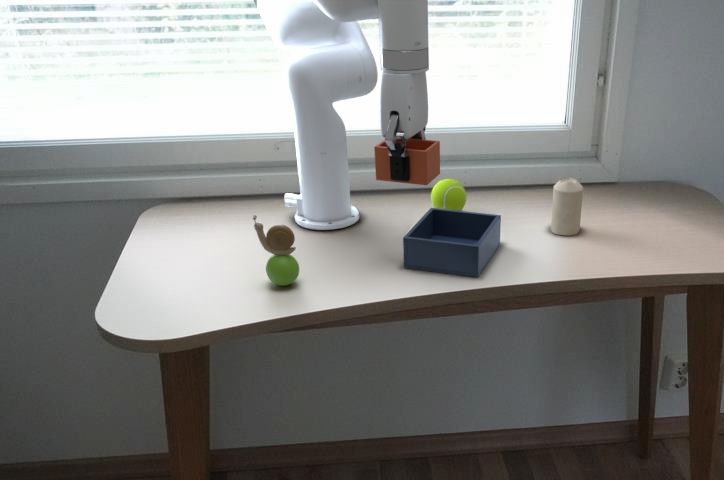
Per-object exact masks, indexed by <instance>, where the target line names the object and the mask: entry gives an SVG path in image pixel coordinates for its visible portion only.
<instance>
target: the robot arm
mask: <svg viewBox="0 0 724 480" xmlns="http://www.w3.org/2000/svg"><path fill="white" fill-rule="evenodd" d="M253 3H254V5H255V7H256V9H257V10H258V13H259V15H260V17H261V19H262V22H263V23H264V26H265V27H266V29H267V31H268V33H269V36H270V37H271V39H272V41H273V42H274V44H275V45H276V46H277V47H278V48H279V49H281V50H284V51H294V52H292V53H291V54H290V55H289V56H287V57H286V59H285V60H284V62H283V66H282V80H283V84H284V88H285V91H286V95H287V99H288V102H289V106H290V111H291V118H292V124H293V132H294V141H295V152H296V163H297V173H298V180H299V181H298V183H299V191H300V192H299V193H300V194H295V193H288V192H287V193H285V194H284V196H283V201H284V206H285V207H287V208H295V209H296V212H295V213H294V221H295V223H297V225H298V226H300V227H302V228H305V229H309V230H314V231H315V230H317V231H331V230H338V229H345V228H347V227H350V226H352V225H354V224H356V223H357V222H358V221H359V219H360V211H359V209H357V207H355V206H353V205H352V204H351V201H352V199H351V187H350V171H349V158H348V157H349V156H348V141H347V131H346V126H345V123H344V120H343V119H342V117H341V116H340V114H339V112H337V110H336V109H335V107H334V105H333V103H336V102H337V103H338V102H340V101H345V100H350V99H356V98H361V97H364V96H367V95H368V94H369V95H370V94H371V92H373V91H374V90H375V88H376V86H377V83H378V77H379V76H378V75H379V74H378V67H377V62H376V59H375V57H374V54H373V51H372V49H371V47H370V45H369V42H368V41H367V39H366V37H365V35H364V33H363V30H362V27H360V23H359V22H358V21H367V20H378V35H379V36H378V39H379V40H378V41H379V57H380V58H379V59H380V71H381V72H382V73H381V83H380V99H379V101H380V104H379V105H380V109H379V110H380V111H379V112H380V116H379V117H380V120H379V121H380V135H381V136H382V138H384V140H385V142H386V144H387V147H388V150H389V156H390V175H391V179H392V180H397V181H409V180H410V164H409V156H407V150H408V141H409V138H411V139H423V140H427V138H426V134H425V133H426V130H427V129H426V128H427V126H428V121H429V97H428V95H429V94H428V81H427V72H428V71H429V70H430V50H429V49H430V48H429V0H253ZM397 134H403V135H397ZM397 141H403V144H402V147H401V145H400V143H397Z"/></svg>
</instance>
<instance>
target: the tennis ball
mask: <svg viewBox="0 0 724 480" xmlns="http://www.w3.org/2000/svg"><path fill="white" fill-rule="evenodd" d="M430 193H431V194H430V200H431V204H432V206H433V208H439V209H448V210H457V211H462V210H463V208H464V207H465V205H466V201H467V191H466V189H465V186H464V185H463V184H462V183H461V182H459V181H458V180H456V179H453V178H443V179H441V180H439V181H438V182H437V183H436V184H435V185H434V186H433V188H432V189H431V192H430Z"/></svg>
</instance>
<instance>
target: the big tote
mask: <svg viewBox="0 0 724 480" xmlns="http://www.w3.org/2000/svg"><path fill="white" fill-rule="evenodd" d="M501 222H502V215H501V214H492V213H483V212H474V211H465V210H460V211H457V210H448V209H439V208H434V207H430V208H429V209H428V210H427V211H426V212H425V213H424V214H423V215H422V216H421V217H420V218H419V220H418V221H416V223H415V224H414V225H413V226H412V227H411V228H410V229H409V231H407V233H406V234H405V235H404V236H403V237H402V250H403V268H404V269H409V270H418V271H424V272H425V271H426V272H431V273H441V274H447V275H448V274H449V275H457V276H463V277H464V276H465V277H471V278H479V276H480V275H481V274H482V272H483V270H484V269H485V267H486V266H487V265H488V263H489V261H490V260H491V259H492V257H493V255H494V254H495V252H496V251H497V250H498V248H499V246H500V245H501V227H502V225H501V224H502V223H501Z"/></svg>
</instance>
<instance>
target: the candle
mask: <svg viewBox="0 0 724 480" xmlns="http://www.w3.org/2000/svg"><path fill="white" fill-rule="evenodd" d="M583 197H584V186H583V185H582V184H581V182H579V181H578V180H577V179H575V177H572V176H570V177H564V178H563V179H562V178H560V179H559V180H558V181H557V182H556V183H555V184H554V185H553V190H552V204H551V218H550V219H551V221H550V231H551V232H552V233H553V234H556V235H559V236H574V235H577V234H578V233H579V232H580V229H581V219H582V218H581V217H582V207H583Z"/></svg>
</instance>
